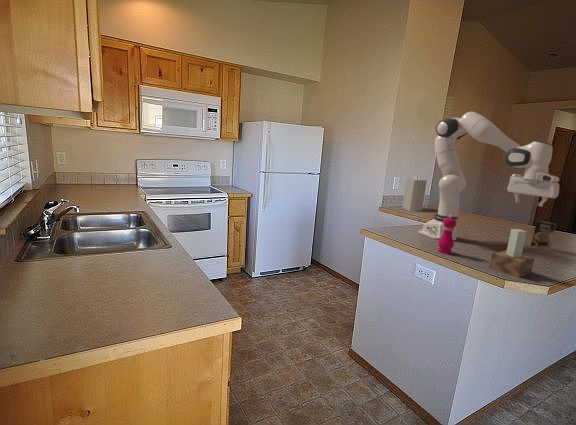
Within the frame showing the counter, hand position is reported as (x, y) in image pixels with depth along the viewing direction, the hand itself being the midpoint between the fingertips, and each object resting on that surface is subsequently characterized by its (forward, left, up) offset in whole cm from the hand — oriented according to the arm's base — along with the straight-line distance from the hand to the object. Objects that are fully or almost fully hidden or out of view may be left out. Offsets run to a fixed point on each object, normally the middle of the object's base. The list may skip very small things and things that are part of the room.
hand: (528, 204), depth 155 cm
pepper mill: (-23, -25, -29) cm, 45 cm away
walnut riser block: (+6, -20, -29) cm, 36 cm away
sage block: (+6, -20, -22) cm, 30 cm away
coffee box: (-5, +42, -29) cm, 51 cm away
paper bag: (-115, +72, -29) cm, 139 cm away
